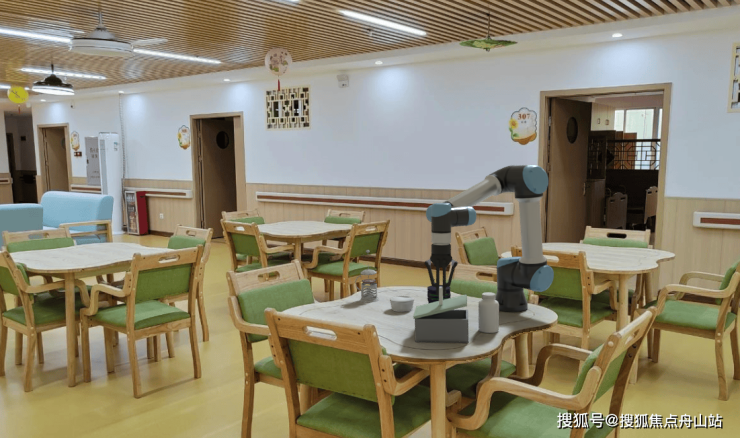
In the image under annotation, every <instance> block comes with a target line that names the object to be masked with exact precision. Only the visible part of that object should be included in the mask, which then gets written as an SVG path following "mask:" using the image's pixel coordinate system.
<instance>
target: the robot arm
mask: <svg viewBox="0 0 740 438" xmlns="http://www.w3.org/2000/svg"><path fill="white" fill-rule="evenodd" d="M548 176H549V175H548V173H547V172H546V171H545V169H544V168H543V167H542V166H540V165H534V164H533V165H532V164H525V165H524V164H523V165H521V164H520V165H517V164H516V165H515V164H513V165H512V164H511V165H507V166H504V167H502V168H500V169H499V168H498V169H497V170H496V171H493V172H491V173H489V174H488V175H486V176H485V177H484V179H483V180H481V181H480V182H478V183H476V184H474V185H472V186H471V187H469V188H467V189H464V190H463V191H462V192H460V193H458V194H456V195H454V196H452V197H450V198H449V199H447V200H445V201H443V202H434V203H432V204H431V205H429V206H428V207H427V208H426V211H425V217H426V219H427V220H428V221H429V223H430V224H431V227H430V229H431V231H430V233H431V234H430V235H431V237H430V238H431V241H430V242H431V245H430V246H431V247H430V252H431V253H430V254H431V255H430V257H429V258H428V259H427V260H425V261H424V265H425V267H426V268H427V272H428V276H429V277H428V278H429V280H430V284H431V285H430V286H435V287H436V295H437V296H439V305H443V296H445V295H446V287H448V286H450V287H451V285H452V280H453V276H454V273H455V269H456V267H457V266H458V264H459V262H458V261H457V260H454V259H453V257H452V228H453V227H467V226H472V225H474V224H475V222H476V221H477V212H476V210H475V209H474V206H476V205H478V204H480V203H482V202H483V201H485V200H487V199H488V198H490V197H492V196H496V197H497V196H499V195H500V194H504V193H514V199H515V200H516V201H517V202H518V210H519V211H518V213H519V225H520V229H519V230H520V243H521V253H522V254H521V256H509V257H508V256H507V257H501V258H498V260H497V262H496V282H497V283H496V287H497V288H496V290H497V291H496V293H495V300H496V301H498V303H499V312H507V313H508V312H509V313H510V312H511V313H512V312H513V313H515V312H523V311H526V310H528V308H529V306H528V304H529V303H528V300H527V297H526V295H525V291H524V290H529V291H532V292H540V293H541V292H545V291H547V290H548V289H549V288H550V286H551V285H552V284H553V281H554V276H555V275H554V274H555V273H554V269H553V268H552V267H551V266H550V265H548V259H547V258H546V256H544V252H543V251H544V249H543V234H542V233H543V232H542V221H541V220H542V218H541V205H540V204H541V203H540V201H541V199H543V197H544V193H545V192H546V191H547V189H548V187H549V177H548ZM431 264H433V265H434V267H435V277H434V273H433V270H432V266H431ZM449 265H450V266H451V268H450V272H449V276H448V280H447V267H449ZM440 268H442V285H443V287H439V285H441V284H440V280H441V279H440V278H441V277H440V274H441V273H440ZM434 279H435V280H434Z"/></svg>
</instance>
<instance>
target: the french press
mask: <svg viewBox="0 0 740 438" xmlns="http://www.w3.org/2000/svg"><path fill="white" fill-rule="evenodd" d="M365 253H367V254H369V253H370V250H369V249H366V250H365ZM376 274H377V271H376V270H374V269H370V268H369V265H367V269H364V270H362V271H360V275H357V277H355V281H354V283H355V284H354V285H355V287H356V289H357V290H358V291H360V294H361V297H360V299H359V301H360V302H361V303H376V302H378V301H380V298H379V297H378V284H377V282H376V281H377V280H376V279H374V278H370V276H372V275H376ZM362 275H363V276H368V277H367V279H362V280H361V282H362V283H361V284H360V287H361V288H359V287H358V286H357V281H358V279H359V277H360V278H362Z"/></svg>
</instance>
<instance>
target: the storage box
mask: <svg viewBox="0 0 740 438" xmlns="http://www.w3.org/2000/svg"><path fill="white" fill-rule="evenodd" d="M414 334H415V335H414V339H415V340H414V341H415V343H436V344H437V343H442V344H443V343H444V344H445V343H446V344H447V343H448V344H449V343H450V344H451V343H452V344H469V341H470V340H469V339H470V338H469V336H470V335H469V334H470V333H469V309H454V310H449V311H445V312H441V313H437V314H433V315H428V316H424V317H420V318H416V319H414Z"/></svg>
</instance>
